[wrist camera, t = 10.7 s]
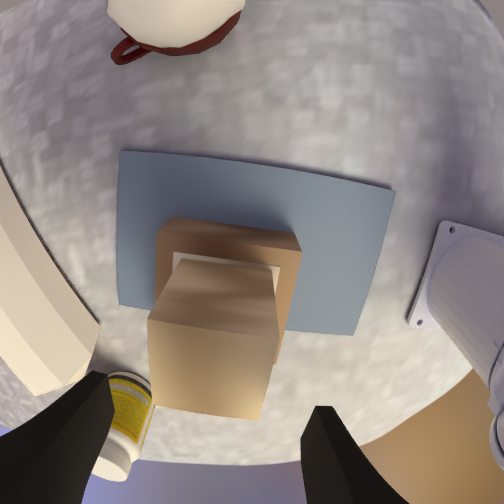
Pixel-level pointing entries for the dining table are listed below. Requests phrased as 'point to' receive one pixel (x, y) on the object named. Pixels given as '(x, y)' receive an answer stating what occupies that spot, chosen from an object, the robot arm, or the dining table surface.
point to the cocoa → (171, 25)
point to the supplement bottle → (125, 426)
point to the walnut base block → (231, 254)
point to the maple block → (213, 339)
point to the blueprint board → (259, 216)
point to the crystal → (38, 308)
